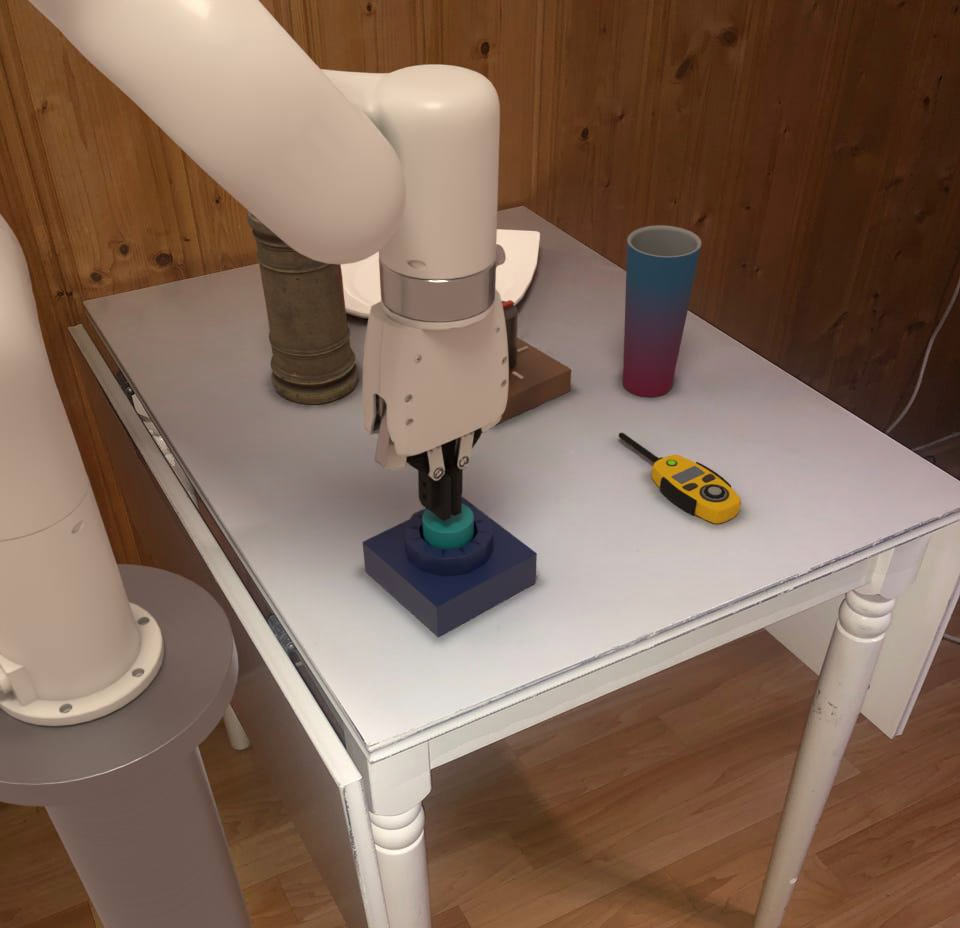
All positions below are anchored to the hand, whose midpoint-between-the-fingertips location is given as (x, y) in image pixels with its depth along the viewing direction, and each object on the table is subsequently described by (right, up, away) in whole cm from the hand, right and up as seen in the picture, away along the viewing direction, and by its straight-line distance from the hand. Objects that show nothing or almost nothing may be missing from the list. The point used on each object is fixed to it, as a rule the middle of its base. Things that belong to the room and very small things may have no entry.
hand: (440, 508), depth 81 cm
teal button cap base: (+1, -5, +5) cm, 7 cm away
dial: (+5, +18, +25) cm, 31 cm away
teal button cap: (+1, -2, +2) cm, 3 cm away
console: (+5, +16, +27) cm, 32 cm away
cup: (+20, +16, +27) cm, 37 cm away
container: (-14, +16, +27) cm, 35 cm away
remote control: (+21, +4, +15) cm, 26 cm away
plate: (-3, +32, +43) cm, 53 cm away
